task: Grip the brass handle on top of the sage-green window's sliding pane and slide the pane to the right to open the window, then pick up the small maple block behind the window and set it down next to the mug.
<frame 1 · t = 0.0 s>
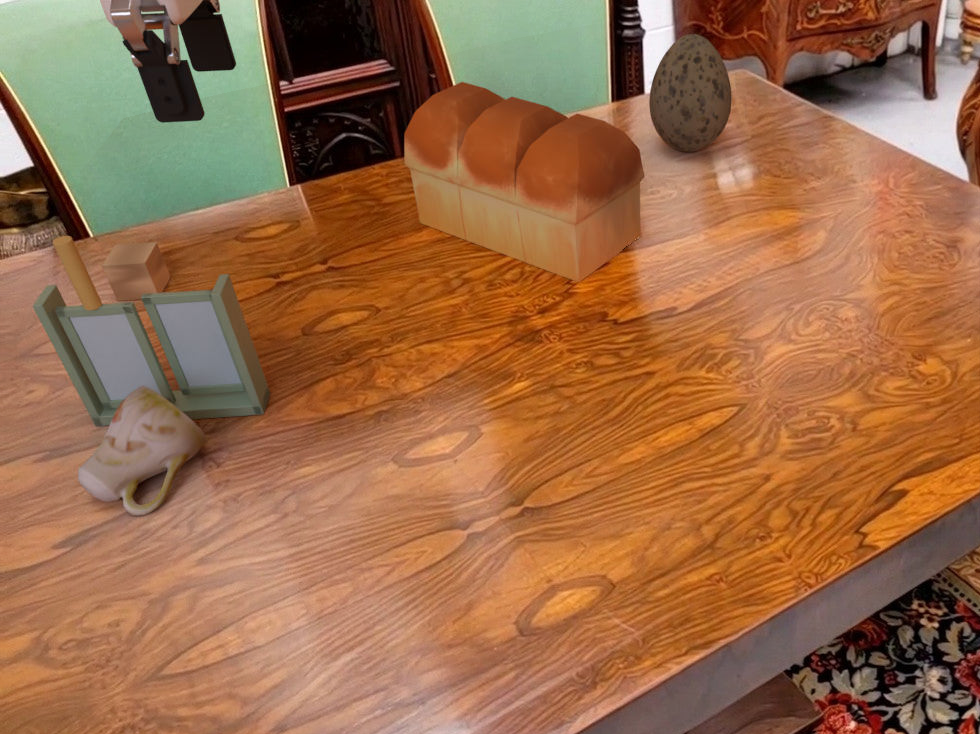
hand: (199, 93, 69), 28 cm above the table, tool pointing down, fingers open, 9 cm apart
mug: (152, 477, 80), on the table
window pane: (104, 327, 79), point 10 cm above the table, slide at 0.0 cm
window frame: (184, 409, 86), on the table
block: (144, 288, 102), on the table
decorative egg: (689, 150, 127), on the table
bread: (528, 231, 111), on the table
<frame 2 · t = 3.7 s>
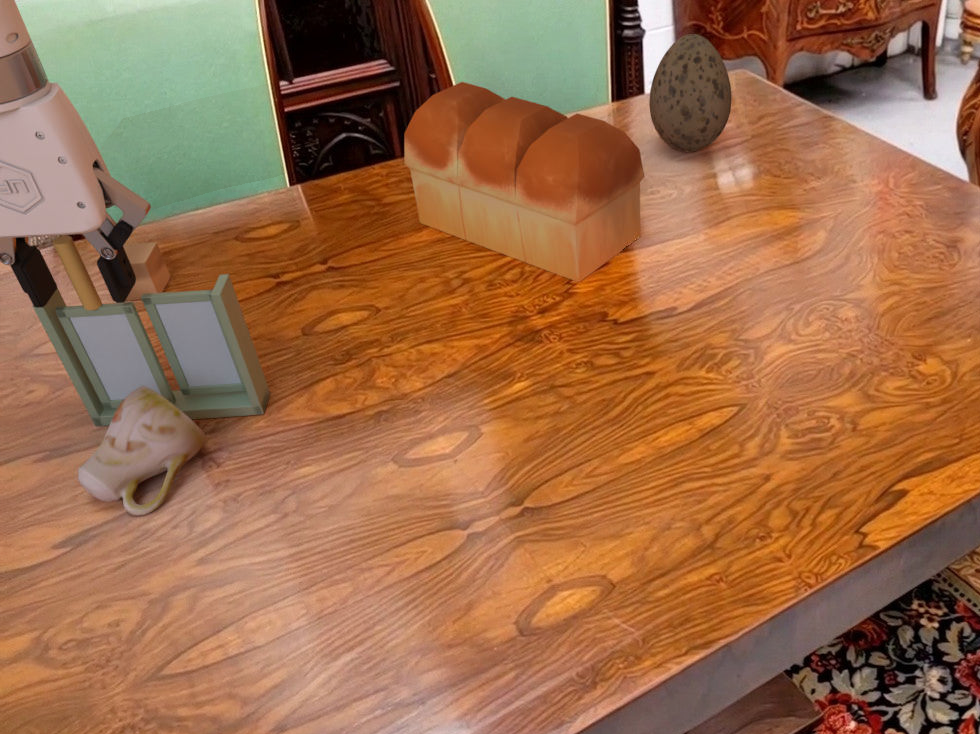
hand: (85, 294, 77), 13 cm above the table, tool pointing down, fingers open, 5 cm apart
nothing on the table moved.
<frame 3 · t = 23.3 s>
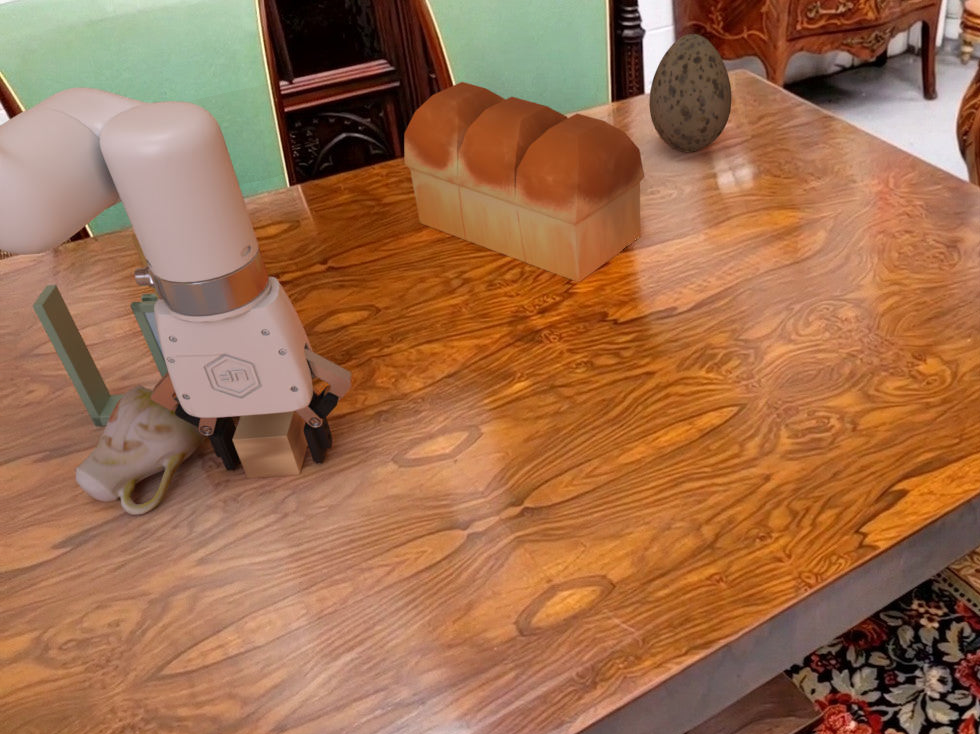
hand: (278, 455, 81), 1 cm above the table, tool pointing down, fingers open, 6 cm apart
mug: (151, 477, 80), on the table, touching gripper
window pane: (177, 323, 80), point 10 cm above the table, slide at 6.1 cm
block: (278, 459, 81), on the table
everything else where it was.
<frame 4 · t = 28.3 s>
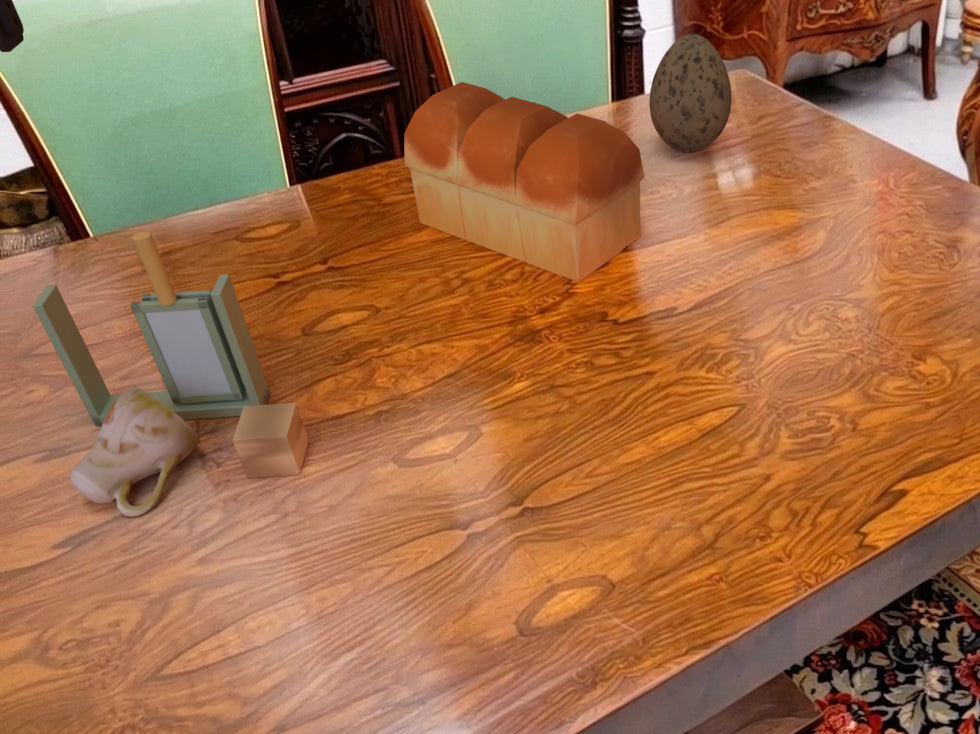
mug: (145, 478, 80), on the table
everything else where it was.
at the end: window pane slide at 6.1 cm; block 11.0 cm from the mug (horizontally); block tilted 0° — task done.
